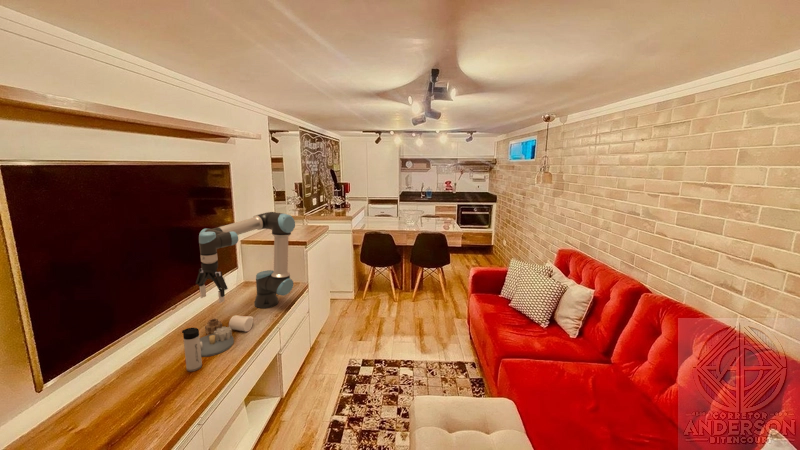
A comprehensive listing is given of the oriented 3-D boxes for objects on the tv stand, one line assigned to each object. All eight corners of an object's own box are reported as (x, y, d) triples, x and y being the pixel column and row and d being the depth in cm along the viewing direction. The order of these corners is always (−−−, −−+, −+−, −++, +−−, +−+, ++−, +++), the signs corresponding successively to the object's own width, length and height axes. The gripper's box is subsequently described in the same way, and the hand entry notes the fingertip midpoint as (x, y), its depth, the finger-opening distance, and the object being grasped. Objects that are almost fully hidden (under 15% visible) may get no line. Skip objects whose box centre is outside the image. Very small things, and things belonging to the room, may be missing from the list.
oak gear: (215, 325, 191) (214, 315, 190) (225, 329, 188) (224, 318, 187) (202, 332, 184) (201, 321, 182) (212, 335, 181) (211, 325, 179)
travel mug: (187, 365, 155) (183, 327, 151) (203, 362, 158) (199, 325, 154) (184, 373, 150) (180, 334, 146) (200, 370, 152) (197, 331, 148)
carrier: (217, 331, 185) (216, 321, 184) (243, 340, 178) (242, 330, 177) (181, 350, 166) (180, 339, 165) (208, 360, 159) (207, 349, 158)
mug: (244, 334, 184) (243, 321, 182) (229, 331, 186) (228, 319, 184) (257, 324, 195) (256, 312, 194) (243, 321, 197) (242, 309, 196)
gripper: (185, 259, 167) (189, 297, 172) (220, 267, 159) (223, 307, 163) (199, 256, 174) (202, 292, 179) (233, 263, 166) (236, 301, 170)
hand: (212, 299), depth 171 cm, fingers open, 13 cm apart
